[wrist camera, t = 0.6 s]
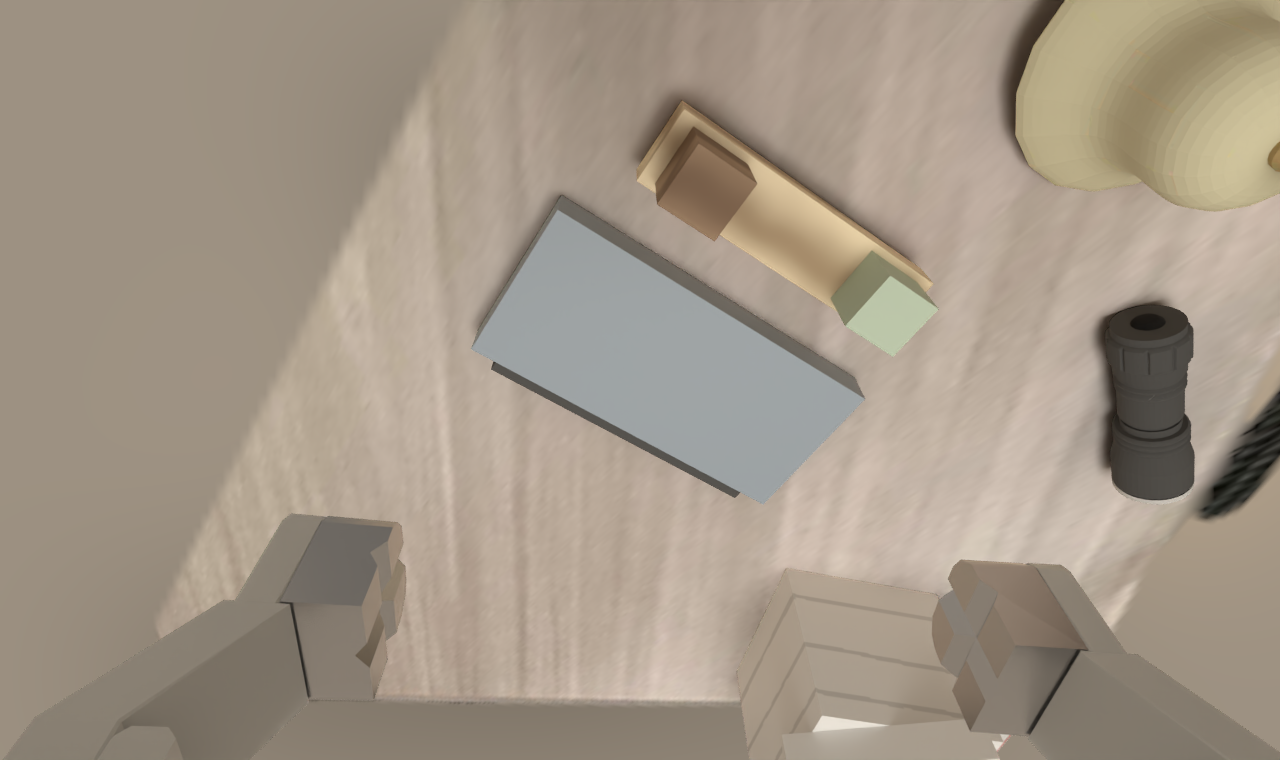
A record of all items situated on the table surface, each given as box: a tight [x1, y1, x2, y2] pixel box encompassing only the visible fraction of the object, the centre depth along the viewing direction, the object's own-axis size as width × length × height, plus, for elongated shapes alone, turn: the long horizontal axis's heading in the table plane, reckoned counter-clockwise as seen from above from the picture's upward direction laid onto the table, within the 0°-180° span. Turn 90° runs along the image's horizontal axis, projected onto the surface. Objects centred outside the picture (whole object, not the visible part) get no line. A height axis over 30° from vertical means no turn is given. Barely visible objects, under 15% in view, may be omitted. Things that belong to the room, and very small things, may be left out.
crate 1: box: [655, 126, 757, 241], centre depth 43 cm, size 4×4×4 cm
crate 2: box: [831, 251, 938, 357], centre depth 48 cm, size 4×4×4 cm
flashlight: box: [1105, 305, 1195, 504], centre depth 56 cm, size 15×5×5 cm, turn 21°
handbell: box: [1015, 0, 1280, 211], centre depth 36 cm, size 15×15×25 cm
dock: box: [471, 195, 865, 504], centre depth 55 cm, size 13×26×3 cm, turn 57°
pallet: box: [637, 101, 933, 311], centre depth 49 cm, size 5×20×4 cm, turn 56°
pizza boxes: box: [737, 568, 1011, 760], centre depth 66 cm, size 19×30×18 cm, turn 76°
